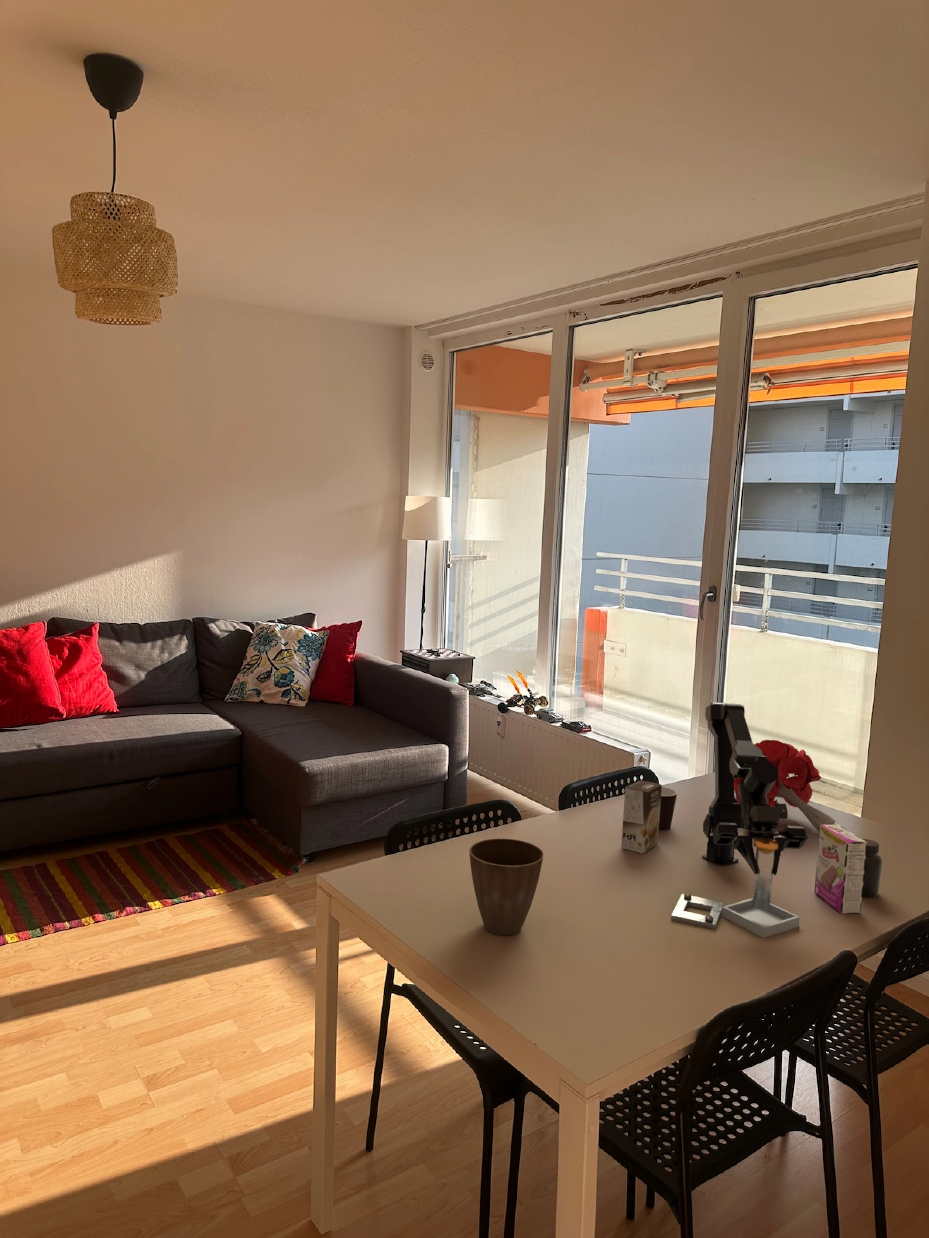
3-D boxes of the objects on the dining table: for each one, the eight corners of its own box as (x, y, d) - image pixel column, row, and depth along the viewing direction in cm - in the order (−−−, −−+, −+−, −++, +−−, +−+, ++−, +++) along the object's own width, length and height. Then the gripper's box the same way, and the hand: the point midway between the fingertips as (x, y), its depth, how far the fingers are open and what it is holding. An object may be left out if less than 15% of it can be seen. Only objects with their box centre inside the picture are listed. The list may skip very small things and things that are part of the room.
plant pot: (467, 909, 188) (470, 836, 186) (537, 912, 188) (541, 839, 186) (465, 942, 173) (468, 863, 171) (541, 946, 173) (545, 867, 171)
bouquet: (822, 843, 255) (738, 773, 269) (869, 784, 243) (779, 714, 258) (791, 868, 239) (704, 792, 254) (841, 806, 228) (747, 731, 242)
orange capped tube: (753, 898, 191) (758, 835, 189) (776, 905, 188) (781, 841, 186) (745, 906, 187) (751, 842, 185) (768, 912, 184) (774, 847, 182)
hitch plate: (681, 898, 198) (682, 891, 197) (723, 906, 194) (723, 899, 194) (671, 919, 187) (671, 912, 186) (715, 929, 183) (715, 921, 183)
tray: (756, 905, 195) (757, 896, 195) (798, 926, 186) (799, 916, 186) (721, 916, 189) (722, 906, 189) (763, 937, 180) (764, 928, 180)
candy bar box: (812, 893, 203) (818, 823, 201) (832, 892, 204) (838, 823, 202) (840, 914, 192) (847, 841, 190) (861, 914, 193) (868, 841, 191)
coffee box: (643, 854, 223) (647, 792, 221) (620, 848, 226) (624, 787, 224) (658, 844, 230) (662, 784, 228) (635, 838, 234) (639, 779, 232)
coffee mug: (677, 832, 239) (680, 796, 238) (645, 831, 239) (648, 795, 238) (668, 817, 251) (670, 783, 250) (638, 816, 251) (640, 782, 250)
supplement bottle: (847, 895, 203) (851, 844, 201) (845, 883, 209) (850, 834, 208) (880, 900, 200) (885, 849, 199) (877, 889, 207) (882, 839, 205)
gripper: (720, 785, 188) (729, 855, 179) (809, 790, 188) (823, 860, 178) (708, 809, 197) (717, 877, 188) (793, 813, 197) (806, 881, 187)
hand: (765, 873), depth 185 cm, fingers closed on orange capped tube, 4 cm apart
